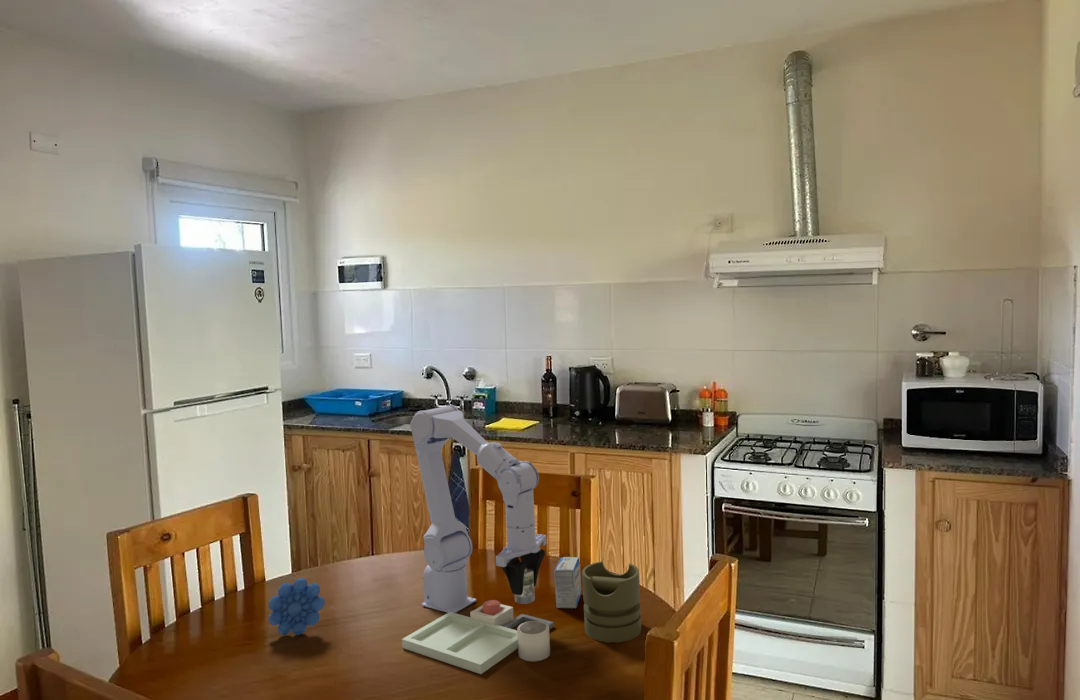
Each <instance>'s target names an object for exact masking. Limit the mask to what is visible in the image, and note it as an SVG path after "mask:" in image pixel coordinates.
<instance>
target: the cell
mask: <svg viewBox="0 0 1080 700" xmlns="http://www.w3.org/2000/svg"><path fill="white" fill-rule="evenodd" d="M535 598H536V597H535V587H534V572H533V569H532V568H529V567H526V568H525V571H524V576H523V592H522V595H516V594H514V602H515V603H516V604H520V605H527V604H530V603H531V604H532V603H533V602H534V601H535V600H536V599H535Z"/></svg>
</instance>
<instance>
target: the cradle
mask: <svg viewBox="0 0 1080 700" xmlns="http://www.w3.org/2000/svg"><path fill="white" fill-rule="evenodd" d="M528 621H541V622H544V623H546V624H548V626H549V631H550V630H551V629H553V628H554V627H555V626H554V625H555V624H554V621H551V620H547V619H543V618H540V617H536V616H532V615H529V614H524V613H521V614H519V615H518V616H516V617H514V619H513V620H512V621H510V622H509V623H507V624H505V625H504V626H503V627H506V628H510V629H514V628H515V627H518V626H519V625H520V624H522V623H524V622H528Z"/></svg>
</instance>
